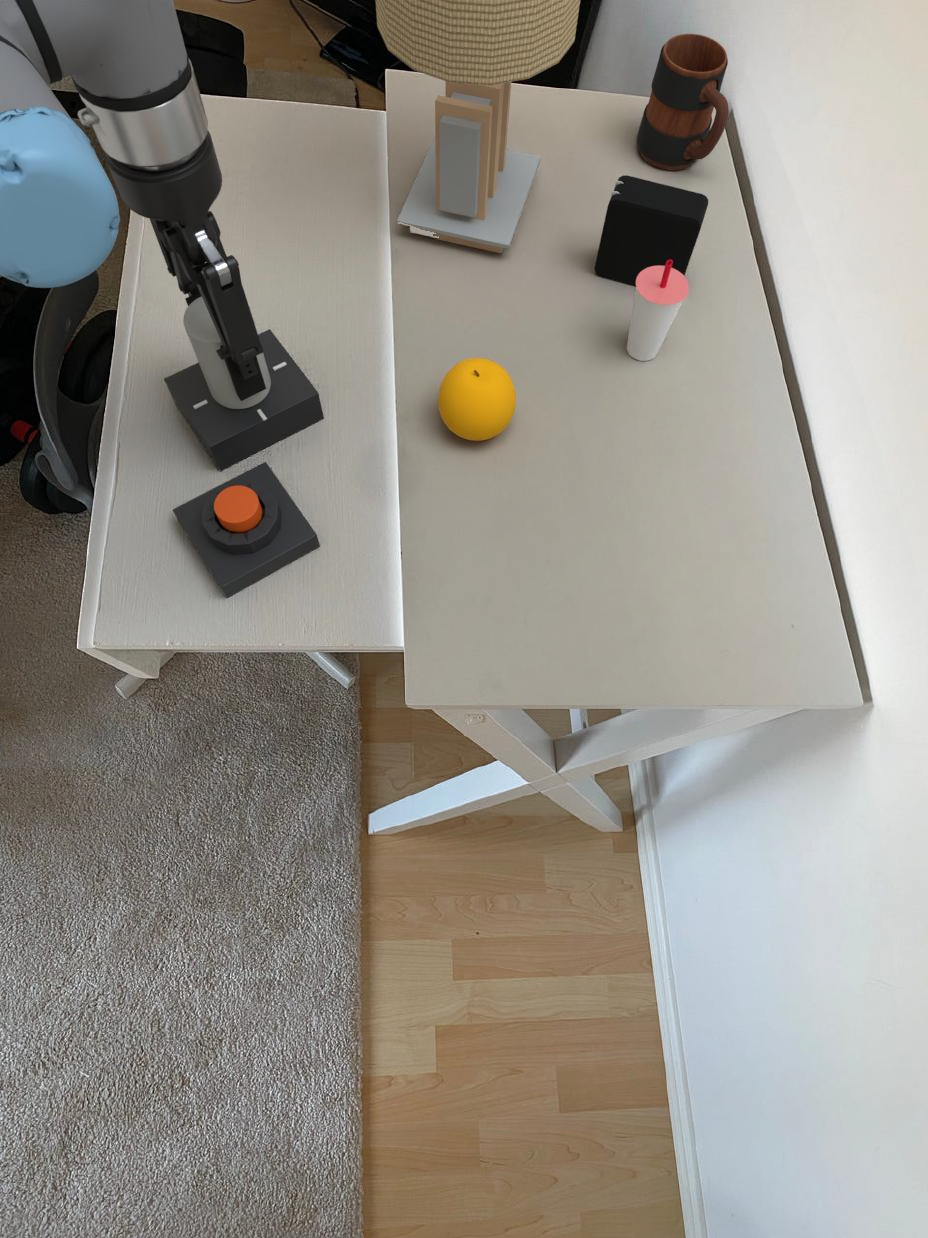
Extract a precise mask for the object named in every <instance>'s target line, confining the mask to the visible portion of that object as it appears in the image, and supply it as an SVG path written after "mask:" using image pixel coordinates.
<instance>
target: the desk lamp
mask: <svg viewBox="0 0 928 1238" xmlns="http://www.w3.org/2000/svg"><path fill="white" fill-rule="evenodd" d="M580 5H581V0H375V12H376V26H377V30H378V31H379V33H380V37H381V38H382V40H383V43H384V44H385V47H386V49H387V51H389V52H390V53H391V54H392V55H393V56H395V57H396V58H397V59H398V60H399V61H401V62H402V63H404V64H405V65H406V66H408V67H409V68H410V69H411V70H413V71H415V72H418V73H421V74H424V75H426V76H429V77H433V78H435V79H439V80H442V81H443V82H445V95H444V96H443V95H439V94H438V95H437V96H436V98H435V100H434V138H433V140H432V142H431V144H430V146H429V148H428V151H427V153H426V156H425V157H424V160H423V162H422V163H421V166H420V169H419V171H418V173H417V175H416V178H415V180H414V182H413V184H412V187H411V189H410V190H409V193H408V196H407V198H406V200H405V203H403V206H402V209H401V211H400V213H399V216H398V218H397V220H396V222H397V221H398V222H402V223H404V224H408V225H411V226H413V227H416V228H419V229H421V230H425V231H430V232H434V233H436V234H433V236H437V237H438V236H439V238H437V239H436V240H439V241H443V242H448V243H452V244H457V245H462V246H466V247H470V248H476V249H480V250H483V251H487V252H492V253H493V252H494V253H498V254H503V251H504V249H508V250H509V249H510V248H511V245H512V242H513V239H514V236H515V234H516V231H517V227H518V225H519V222H520V219H521V217H522V214H523V211H524V208H525V205H526V203H527V200H528V197H529V196H530V195H529V194H530V192H531V189H532V187H533V186H532V185H533V183H534V180H535V177H536V174H537V173H538V170H539V166H540V164H541V161H542V156H541V155H537V154H531V153H527V152H521V151H517V150H511V149H507V144H508V133H509V131H508V130H509V119H510V107H511V94H512V93H511V91H512V82H518V81H524V80H528V79H530V78H533V77H534V76H536V75H538V74H540V73H542V72H544V71H546V70H548V69H550V68H551V67H553V66H555V65H557V64H559V63H560V61H561V60H562V59H563V57H564V56H565V55H566V54H567V52H569V50H570V48H571V47H572V45H573V44H574V43H575V42H576V41H575V40H576V33H577V25H578V20H579V19H578V18H579V12H580ZM399 217H400V218H399Z"/></svg>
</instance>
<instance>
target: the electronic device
mask: <svg viewBox="0 0 928 1238" xmlns="http://www.w3.org/2000/svg"><path fill="white" fill-rule="evenodd" d="M708 205H709V199H708V197H707V195H706V194H703V193H699V192H696V191H692V190H688V189H683V188H680V187H676V186H671V185H667V184H664V183H659V182H655V181H652V180H648V179H644V178H639V177H635V176H631V175H627V174H626V175H621V176H619V177H618V179H617V180H615V184H614V188H613V191H611V195H610V199H609V202H608V204H607V208H606V212H605V217H604V221H603V226H602V231H601V236H600V240H599V246H598V250H597V254H596V259H595V264H594V269H593V270H594V273H595V275H596V276H598V277H600V278H603V279H605V280H606V279H607V280H611V281H614V282H619V283H622V284H626V285H629V286H633V287H636V278H637V276H638V274H639V273H640V272H641V271H642V270H644V269H646V268H648V267H651V266H665V265H666V262H667V261H668V260H670V259H671V260H672V261H673V264H672V267H671V268H674V269H676V270H678V271H679V272H680V273H682V274H683V275H684V276H685V275H686V272H687V269H688V267H689V264H690V262H691V258H692V255H693V252H694V249H695V246H696V243H697V241H698V238H699V235H700V233H701V229H702V226H703V223H704V220H705V216H706V213H707V209H708V207H709V206H708Z"/></svg>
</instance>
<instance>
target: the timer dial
mask: <svg viewBox="0 0 928 1238" xmlns="http://www.w3.org/2000/svg"><path fill="white" fill-rule="evenodd" d="M249 308H250V311H251V314H252V317H253V318H254V316H253V313H252V310H251V307H250V306H249ZM182 321H183V326H184V329H185V332H186V334H187V337H188V340H189V342H190V344H191V347H192V350H193V352H194V354H195V357H196V359H197V361H198V362H199V364H200V367H201V370H202V372H203V375H204V377H205V380H206V382H207V385H208V387H209V390H210V392H211V395H212V396H213V398H214V399H215V400H216V401H217V402H218V403H219V404H221V405H222V406H224V407H227V408H231V409H244V408H249V407H252V406H254V405H256V404H258V403H259V402H261V401H262V400H263V399H264V398H265V397H266V396H267V394H268V393H269V390H270V387H271V379H270V375H269V372H268V368H267V365H266V361H265V358H264V354H263V353H261V354H259V355H257V360H258V363H259V366H260V370H261V373H262V376H263V379H264V383H265V386H266V389H265V390H263V391H261V392H259V393H257V394H255V395H253V396H251V397H249V398H247V399H245V400H243V401H241V400H240V399H239V397H238V396H237V393H236V391H235V388H234V385H233V382H232V379H231V377H230V374H229V371H228V368H227V365H226V363H225V360H224V359H223V360H221V359H220V357H219V356H218V354H217V352H216V350H218V349H220V346H222V345H223V344H222V342H221V339H220V337H219V335H218V333H217V330H216V328H215V326H214V323H213V321H212V319H211V316H210V314H209V312H208V309H207V307H206V305H205V303H204V300H203V298H202V296H201V297H199V298H197V299H196V300H194V301H193V302H192V303H191V304H190V305H189V306H188V305H187V307H186V309H185V310H184V313H183V320H182ZM253 321H254V324H255V327H256V323H255V320H254V319H253ZM256 328H257V327H256ZM198 362H197V363H198Z"/></svg>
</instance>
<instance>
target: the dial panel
mask: <svg viewBox="0 0 928 1238" xmlns="http://www.w3.org/2000/svg"><path fill="white" fill-rule="evenodd" d="M258 336H259V340H260V343H261V345H262V347H263V348H262V349H263V354H264V358H265V361H266V365H267V368H268V372H269V375H270V379H271V387H270V390H269V393H268V394H267V396H266V397H265V398H264V399H263V400H262V401H261V402H259V403H258V404H256V405H254V406H252V407H249V408H244V409H231V408H227V407H224V406H222V405H221V404H219V403H218V402H217V401H216V400H215V399H214V398H213V396H212V395H211V392H210V390H209V387H208V385H207V382H206V380H205V377H204V375H203V372H202V370H201V367H200V364H199V362H196V363H194V364H192V365H190V366H188V367H186V368H183V369H181V370H179V371H177V372H175V373H173V374H171V375H169V376H166V377H164V378H163V381H164V383H165V385H166V387H167V389H168V392H169V394H170V396H171V398H172V400H173V402H174V405H175V406H176V408H177V409H178V411H179V412H180V413H181V415H182V417H183V418H184V420H185V421H186V423H187V424H188V426H189V427H190V428H191V430H192V432H193V434H195V436H196V437H197V439H198V440H199V442H200V443H201V446H202V447H203V448H204V450H205V451H206V452H207V454H208V456H209V457H210V458H211V460H212V462H213V463H214V465H215V466H216V468H217V470H218V471H219V472H222V471H224V470H226V469H228V468H231V466H233V465H236V464H237V463H240V462H242V461H244V460H245V459H247V458H250V457H252V456H253V455H256V454H257V453H259V452H261V451H264V450H265V449H267V448H269V447H271V446H273V445H275V444H277V443H279V442H280V441H282V440H285V439H287V438H289V437H291V436H292V435H294V434H296V433H299V432H300V431H302V430H304V429H306V428H308V427H311V426H312V425H314V424H316V423H318V422H320V421H322V420H323V419H325V418H324V412H323V408H322V403H321V398H320V394H319V393H320V392H319V391H318V390H317V389H316V387H315V386H314V385H313V384H312V382H311V381H310V380H309V379H308V377H307V376H306V374H305V373H304V372H303V370H302V369H301V368H300V366H299V365H298V364H297V363H296V361H295V360H294V359H293V357H292V356H291V355H290V353H289V352H288V351H287V349H286V348H285V347H284V346H283V344H282V343H281V341H280V340H279V339H278V338H277V336H276V335H275V334H274V333H273V331H272V330H271V329H270V328H269V329H267V330H265V331H263V332H260V333H259V334H258Z"/></svg>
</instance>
